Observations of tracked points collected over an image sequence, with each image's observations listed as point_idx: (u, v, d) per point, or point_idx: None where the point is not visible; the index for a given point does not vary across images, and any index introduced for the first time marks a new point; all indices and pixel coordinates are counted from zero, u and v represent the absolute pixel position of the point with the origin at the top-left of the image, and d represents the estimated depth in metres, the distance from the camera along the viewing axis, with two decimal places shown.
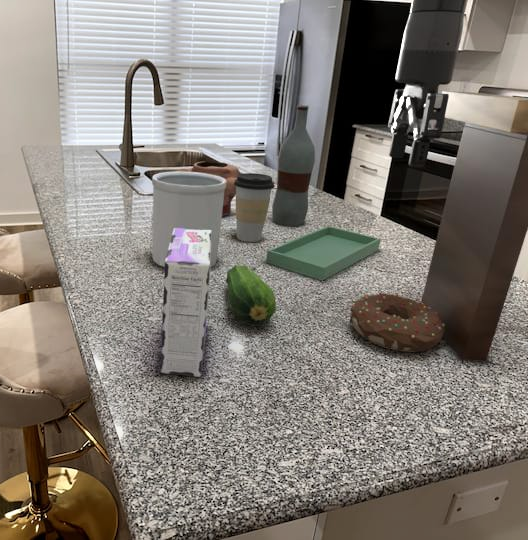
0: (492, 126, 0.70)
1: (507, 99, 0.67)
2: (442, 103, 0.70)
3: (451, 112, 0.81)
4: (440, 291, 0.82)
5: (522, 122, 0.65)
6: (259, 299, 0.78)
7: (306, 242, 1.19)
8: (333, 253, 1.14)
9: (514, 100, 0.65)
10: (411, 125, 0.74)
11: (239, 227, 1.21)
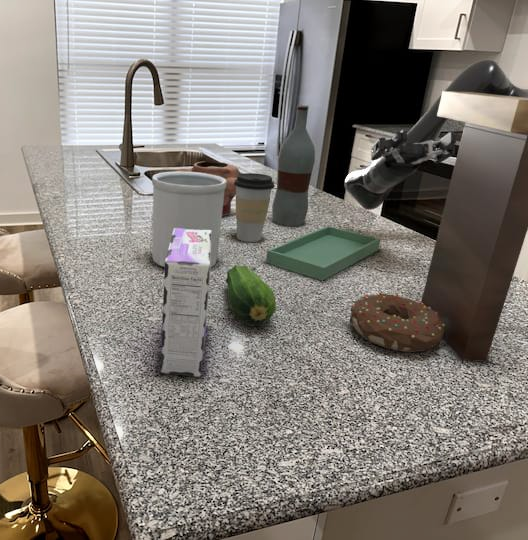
0: (492, 126, 0.70)
1: (507, 99, 0.67)
2: (372, 149, 1.02)
3: (451, 112, 0.81)
4: (440, 291, 0.82)
5: (522, 122, 0.65)
6: (259, 299, 0.78)
7: (306, 242, 1.19)
8: (333, 253, 1.14)
9: (514, 100, 0.65)
10: (397, 154, 0.99)
11: (239, 227, 1.21)
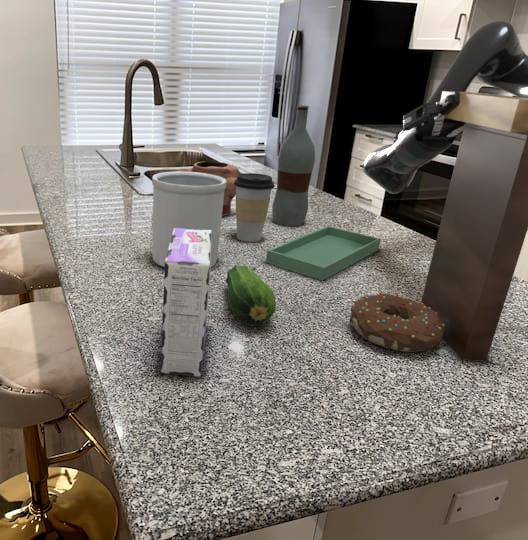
0: (492, 126, 0.70)
1: (507, 99, 0.67)
2: (407, 117, 0.88)
3: (451, 112, 0.81)
4: (440, 291, 0.82)
5: (522, 122, 0.65)
6: (259, 299, 0.78)
7: (306, 242, 1.19)
8: (333, 253, 1.14)
9: (514, 100, 0.65)
10: (440, 123, 0.85)
11: (239, 227, 1.21)
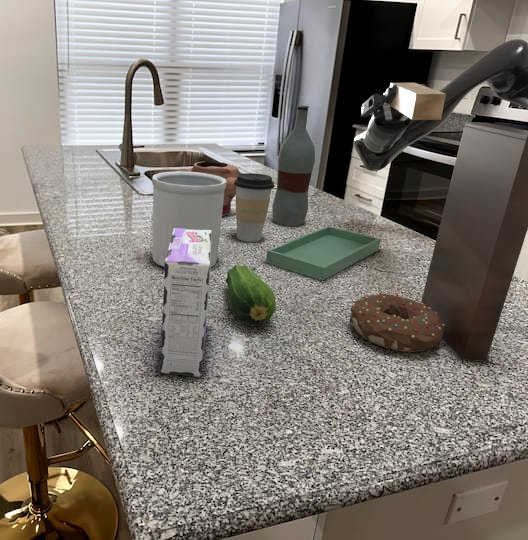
0: (406, 114, 0.87)
1: (412, 93, 0.84)
2: (363, 106, 1.05)
3: (392, 101, 0.98)
4: (440, 291, 0.82)
5: (421, 112, 0.82)
6: (259, 299, 0.78)
7: (306, 242, 1.19)
8: (333, 253, 1.14)
9: (414, 94, 0.82)
10: (388, 110, 1.01)
11: (239, 227, 1.21)
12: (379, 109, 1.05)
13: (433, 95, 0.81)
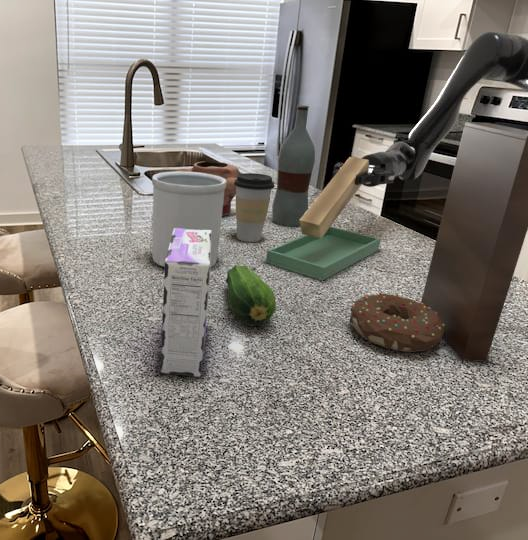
0: None
1: (305, 212, 1.07)
2: None
3: None
4: (440, 291, 0.82)
5: (306, 231, 1.07)
6: (259, 299, 0.78)
7: (306, 242, 1.19)
8: (333, 253, 1.14)
9: None
10: None
11: (239, 227, 1.21)
12: None
13: (310, 223, 1.04)
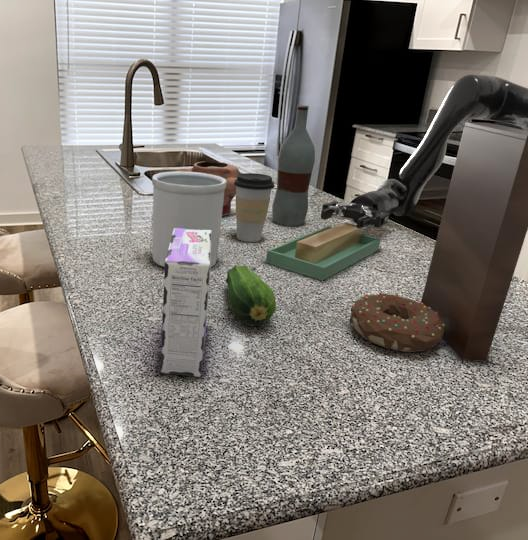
0: None
1: None
2: None
3: None
4: (440, 291, 0.82)
5: (300, 255, 1.08)
6: (259, 299, 0.78)
7: None
8: None
9: (299, 241, 1.08)
10: (337, 218, 1.21)
11: (239, 227, 1.21)
12: None
13: (307, 245, 1.06)
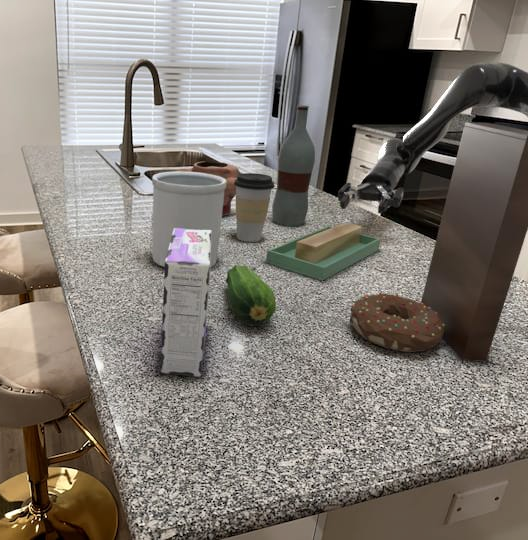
0: None
1: None
2: None
3: None
4: (440, 291, 0.82)
5: (300, 255, 1.08)
6: (259, 299, 0.78)
7: None
8: None
9: (299, 241, 1.08)
10: (354, 201, 1.27)
11: (239, 227, 1.21)
12: None
13: (307, 245, 1.06)
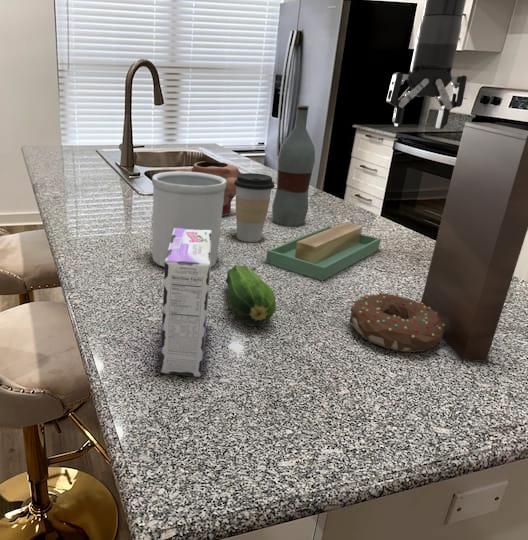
0: None
1: None
2: (394, 79, 1.03)
3: None
4: (440, 291, 0.82)
5: (300, 255, 1.08)
6: (259, 299, 0.78)
7: None
8: None
9: (299, 241, 1.08)
10: None
11: (239, 227, 1.21)
12: None
13: (307, 245, 1.06)
